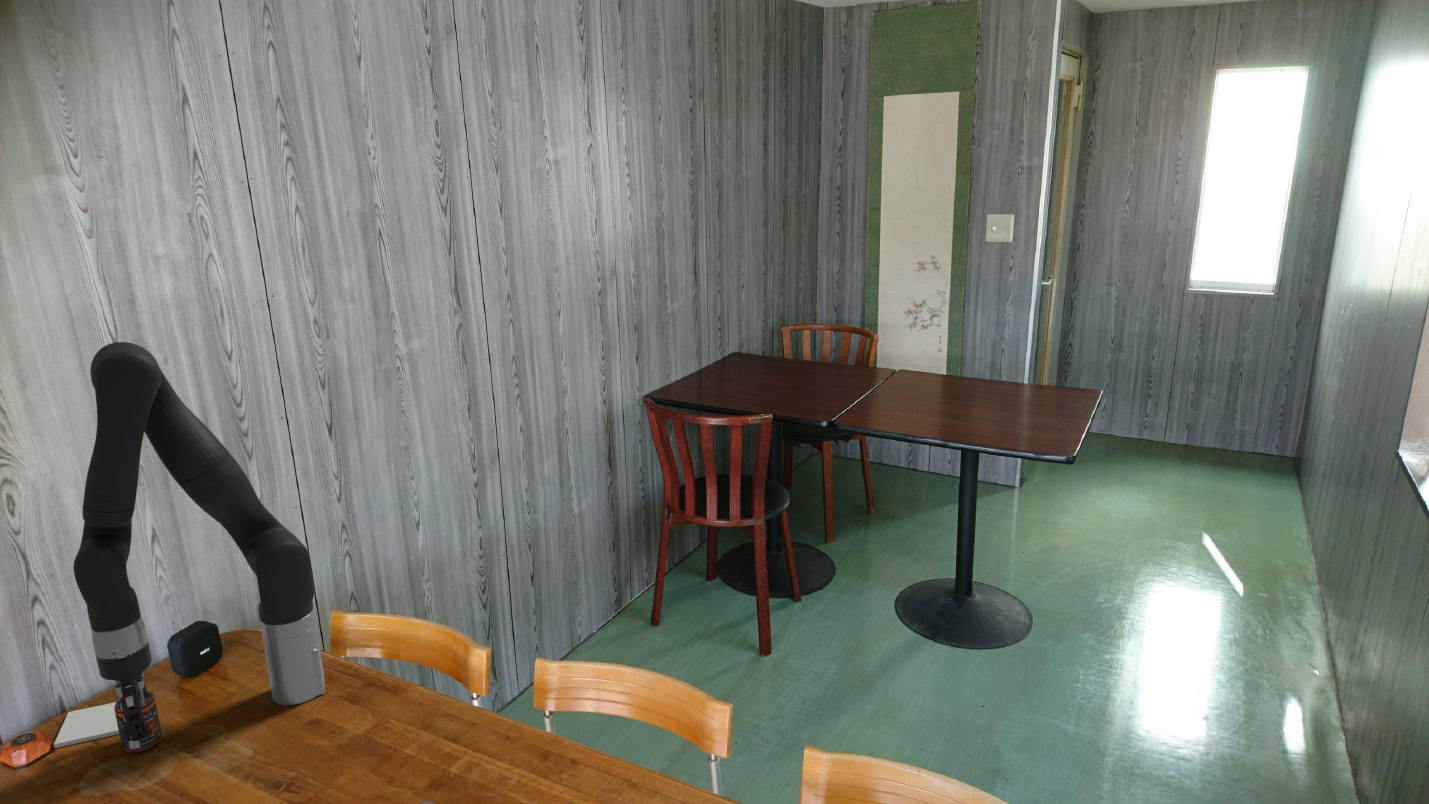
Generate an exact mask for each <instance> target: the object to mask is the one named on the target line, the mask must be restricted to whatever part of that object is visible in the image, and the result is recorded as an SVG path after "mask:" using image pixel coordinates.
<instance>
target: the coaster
mask: <svg viewBox="0 0 1429 804" xmlns="http://www.w3.org/2000/svg"><path fill="white" fill-rule="evenodd" d="M116 702H117V701H115V702H110V703H106V704H102V705H96V706H91V707H86V708H81V709H77V710H72V711H68V712H67V715H66V717H65V719H64V722H63V723H62V725H61V728H60V730H59V732H58V735H57V737H56V739H55V740H54V743H53V748H54V749H57V748H62V747H66V746H67V747H68V746H71V745H75V744H80V743H86V742H89V741H94V740H98V739H103V738H107V737H112V736H116V735H120V734H119V729H118V725H117V720H116V716H115V710H114V707H115V704H116Z"/></svg>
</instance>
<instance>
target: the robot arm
mask: <svg viewBox="0 0 1429 804" xmlns="http://www.w3.org/2000/svg"><path fill="white" fill-rule="evenodd" d="M89 373H90V380H91V385H92V387H93V388H94V393H95V403H96V404H95V405H96V417H97V418H96V419H97V420H96V422H97V423H96V434H95V441H94V446H93V449H92V453H91V457H90V461H89V465H88V470H87V473H86V479H85V485H84V486H85V487H84V493H83V501H82V519H83V521H84V523H83V530H82V537H81V540H80V544H79V545H80V546H79V549H78V551H77V553H76V556H75V558H74V559H73V573H74V578H75V583H76V584H77V588H78V589H79V593H80V594H81V596H82V599H83V600H84V602H85V604H86V611H87V615H88V619H89V623H90V628H91V638H92V639H91V640H92V645H93V649H94V650H93V651H94V655H95V659H96V664H97V667H98V673H99V675H100V678H102V679H103V680H106V681H115V686H114V687H115V694H116V696H118V700H119V701H120V707H121V710H122V711H123V714H124V718H125V725H126V726H127V727H128V726H129V728H130V733H131V737H132V741H138V740H141V739H145V738H146V737H147V730H146V725H145V721H144V720H145V719H144V717H145V714H144V713H143V707H142V706H143V705H144V704H145V698H144V693H143V688H144V683H145V682H144V680H145V677H144V673H143V672H145V670H147V669H148V668H149V667H150V665H151V664H152V662H153V658H152V657H153V656H152V651H151V649H150V643H149V639H148V633H147V629H146V625H145V623H144V620H143V617H142V614H141V610H140V605H139V601H138V597H137V593H136V591H135V590H134V588H133V587H132V586H131V585H130V582H129V581H130V580H129V577H128V572H127V571H128V570H127V562H128V560H129V556H130V552H131V544H132V531H133V530H132V529H133V526H132V525H133V523H132V522H133V520H132V519H133V515H134V513H135V509H136V499H137V494H138V493H137V492H138V484H139V477H140V463H141V453H142V445H143V440H144V436H145V435H146V437H147V440H148V441H149V442H150V444H151V446H152V447H153V449H154V451H155V453H156V454H157V456H158V458H159V460H161V463H162V464H163V466H164V467H165V469H166V470H167V471H168V473H169V474H170V476H171V477H172V478H173V480H175V483H177V484H178V486H179V487H180V488H181V489H182V490H183V491H184V492H185V493H186V495H187V496H189V498H190V499H191V500H192V502H194V503H195V504H196V505H197V506H198V507H199V508H200V509H201V510H202V511H204V512H205V513H206V514H207V515H208V516H210V517H211V518H212V519H214V520H215V521H216V522H217V523H218V524H220V525H221V526H222V527H223V528H224V530H226V532H227V533H228V534H229V536H230V537H231V539H232V540H233V541H234V543H235V544H236V546H237V547H238V548H239V550H240V552H241V553H242V555H243V557H244V558H245V561H246V563H247V564H248V566H249V568H250V569H251V570H252V572H253V573H254V575H255V576H256V580H257V581H256V582H257V587H258V593H259V603H258V606H257V612H258V618H259V622H260V623H259V624H260V630H261V636H262V642H263V649H264V655H265V662H266V667H267V672H268V680H269V684H270V685H269V686H270V692H271V698H272V700H273V702H274V703H276V704H278V705H280V706H293V705H298V704H303V703H306V702H309V701H310V700H312V699H314V698H316V697H317V696H321V695H324V694H325V672H324V665H323V659H322V658H323V657H322V651H321V650H322V649H321V645H320V644H321V643H320V637H319V636H318V631H317V626H316V622H317V621H316V617H315V610H314V598H315V587H314V578H313V569H312V561H311V557H310V553H309V551H308V549H307V547H306V545H304V543H302V541H300V539H299V538H298V537H297V536H296V535H294V533H292V532H291V531H290V530H289V529H288V528H286V527H285V526H284V525H283V524H282V523H281V522H280V521H279V520H278V519H277V518H276V517H275V516H274V515H273V514H272V513H271V512H270V511H269V510H268V509H267V508H266V507H265V506H264V504H263V503H262V502H261V500H260V498H259V496H258V495H257V493H256V490H255V489H254V486H253V485H252V483H251V481H250V479H249V477H248V476H247V474H246V473H245V471H244V470H243V468H242V467H241V465H240V464H239V463H238V461H236V459H235V458H234V456H233V455H232V454H231V453H230V451H229V450H228V449H227V448H226V446H224V444H223V443H222V442H221V441H220V440H219V439H218V437H216V435H215V434H214V433H213V432H212V431H211V430H210V429H209V428H208V426H206V425H205V423H203V421H202V420H201V419H200V418H199V417H197V415H195V414H194V413H193V412H192V411H191V409H189V408H188V406H186V404H185V403H184V401H182V399H181V398H180V397H179V395H178V393H176V391H175V390H174V388H173V386H172V384H171V383H169V380H168V379H167V377H166V375H165V374H164V372H163V371H162V368H161V367H160V366H159V363H158V362H157V359H156V357H155V356H154V355H153V354H152V352H151V351H149V350H148V349H146V348H145V347H142V346H141V345H139V344H135V343H133V342H128V341H127V342H124V341H123V342H122V341H117V342H116V341H115V342H111V343H108V344H106V345H104V346H102V347H101V348H100V349H99V350H98V351H97V352H96V353H95V355H94V356H93V358H92V361H91V364H90V371H89ZM144 434H145V435H144ZM139 694H140V695H139ZM139 696H140V701H139ZM136 713H138V714H136ZM133 714H136V715H133ZM130 715H133V716H130Z"/></svg>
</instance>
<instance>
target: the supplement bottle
mask: <svg viewBox="0 0 1429 804" xmlns="http://www.w3.org/2000/svg"><path fill="white" fill-rule="evenodd" d="M143 693H144V698H145V704H144V705H143V706H142V707H143V713H144V714H145V717H144V719H145V720H144V721H145V725H146V730H147V737H146V738H145V739H141V740H138V741H132V737H131V733H130V728H129V726H128V727H127V726H126V725H125V718H124V714H123V711H122V710H121V707H120V701H119V699H118V700H117V701H115V702H116V704H115V707H114V710H115V716H116V720H117V725H118V729H119V734H118V735H119V737H120V743H121V747H122V749H123V751H124V752H127V753H130V754H131V753H134V754H135V753H140V752H144V751H147V750H149V749H151V748H154V746H156V745H157V744H158V743H159V742H160V741H161V739H162V737H163V735H162V734H163V733H162V728H161V726H162V725H161V723H160V718H159V712H158V708H157V703H156V698H155V695H154V694H153V693H152V692H151V691H148V690H147V688H146V683H145V682H144V688H143ZM139 695H140V694H139ZM139 701H140V696H139ZM136 714H138V713H136ZM136 714H133V715H136ZM133 715H130V716H133Z"/></svg>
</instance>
